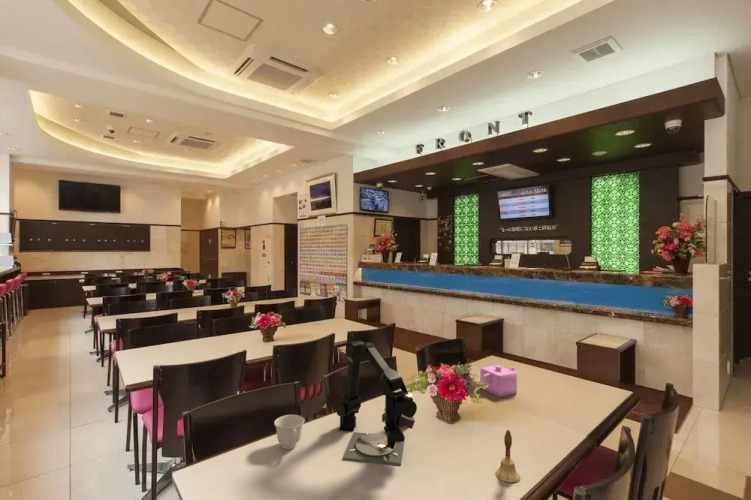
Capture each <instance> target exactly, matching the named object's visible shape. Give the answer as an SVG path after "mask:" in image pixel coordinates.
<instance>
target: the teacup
mask: <svg viewBox="0 0 751 500" xmlns="http://www.w3.org/2000/svg"><path fill="white" fill-rule="evenodd" d="M273 423H274V424H273V425H274V426H275V429H276V430H275V431H276V438H277V442H278V444H280V445H281V448H282V449H284V450H292V449H294V448H296V447H297V443H299V441H300V440H301V437H302V430H303V425H304V423H305V418H304V417H303V416H302V415H298V414H285V415H282V416H279V417H278V418H276V419H275V420H274V422H273Z"/></svg>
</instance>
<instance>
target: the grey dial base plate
mask: <svg viewBox="0 0 751 500" xmlns="http://www.w3.org/2000/svg"><path fill="white" fill-rule="evenodd" d="M366 434H372V433H370V432H356V431H353V434H352V436H351V438H350V441H349V443H348V445H347V448H346V450H345V453H344V455H343V456H342V460H343V461H353V462H365V463H374V464H382V465H383V464H384V465H385V464H386V465H394V466H402V460H403V454H404V447H405V440H406V436H405V435H404V441H403V442H395V443H396V447H395V450H394V451H393V452H392V453H390V454H388V455H385V456H380V457H372V456H367V455H364V454H361V453H360V452H359V451H358V450H357V449H356V441H357V439H358V438H360V437H361V436H363V435H366Z"/></svg>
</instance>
